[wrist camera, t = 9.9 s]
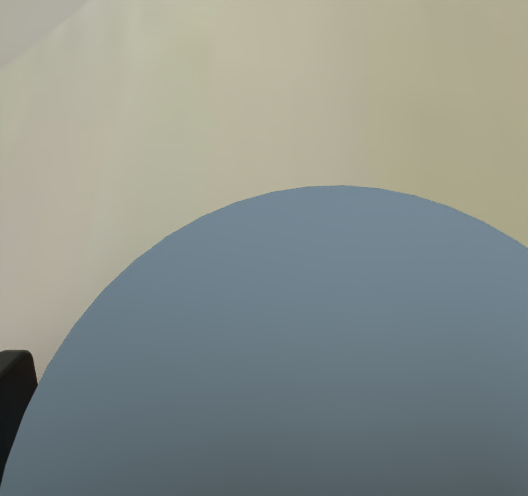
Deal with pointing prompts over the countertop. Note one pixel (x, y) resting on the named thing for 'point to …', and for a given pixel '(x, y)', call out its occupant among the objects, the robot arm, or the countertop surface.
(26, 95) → the countertop surface
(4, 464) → the robot arm
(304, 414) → the tall blue cylinder
